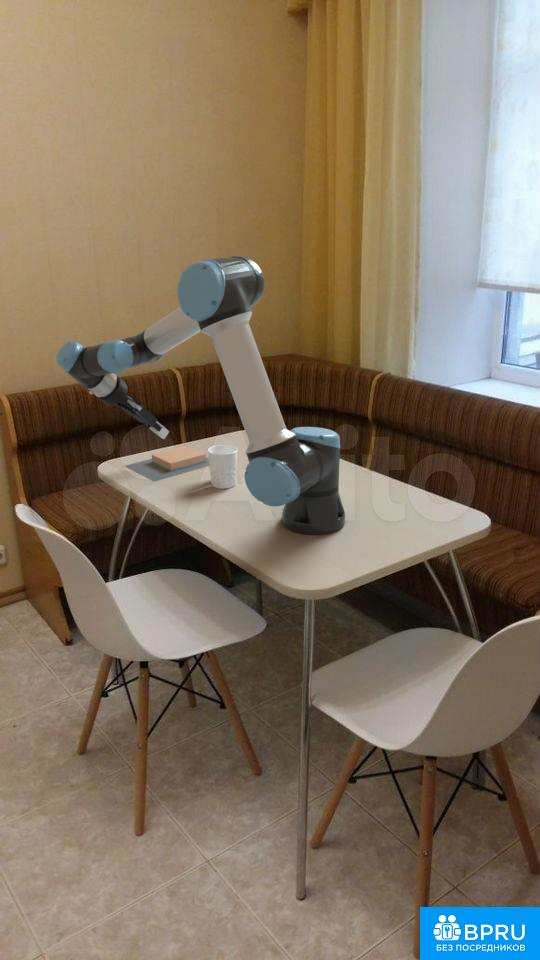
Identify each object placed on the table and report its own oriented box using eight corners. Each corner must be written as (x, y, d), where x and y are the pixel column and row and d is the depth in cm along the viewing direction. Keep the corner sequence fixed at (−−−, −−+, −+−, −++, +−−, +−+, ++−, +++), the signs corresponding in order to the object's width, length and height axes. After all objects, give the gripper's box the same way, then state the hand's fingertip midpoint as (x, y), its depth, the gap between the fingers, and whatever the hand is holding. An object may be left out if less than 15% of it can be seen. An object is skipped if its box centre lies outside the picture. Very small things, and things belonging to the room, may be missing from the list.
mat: (154, 483, 206) (154, 481, 206) (124, 467, 217) (124, 465, 217) (219, 464, 219) (219, 462, 219) (187, 451, 230) (187, 449, 230)
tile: (170, 463, 211) (205, 454, 219) (151, 454, 218) (186, 445, 226) (171, 471, 212) (206, 462, 219) (152, 462, 219) (186, 453, 227)
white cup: (225, 492, 200) (224, 456, 196) (203, 485, 204) (201, 450, 201) (244, 483, 206) (243, 448, 202) (222, 476, 210) (221, 442, 206)
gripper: (87, 393, 202) (145, 440, 218) (111, 403, 192) (170, 451, 208) (103, 370, 203) (160, 418, 219) (128, 379, 194) (185, 429, 210)
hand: (165, 434), depth 214 cm, fingers closed
